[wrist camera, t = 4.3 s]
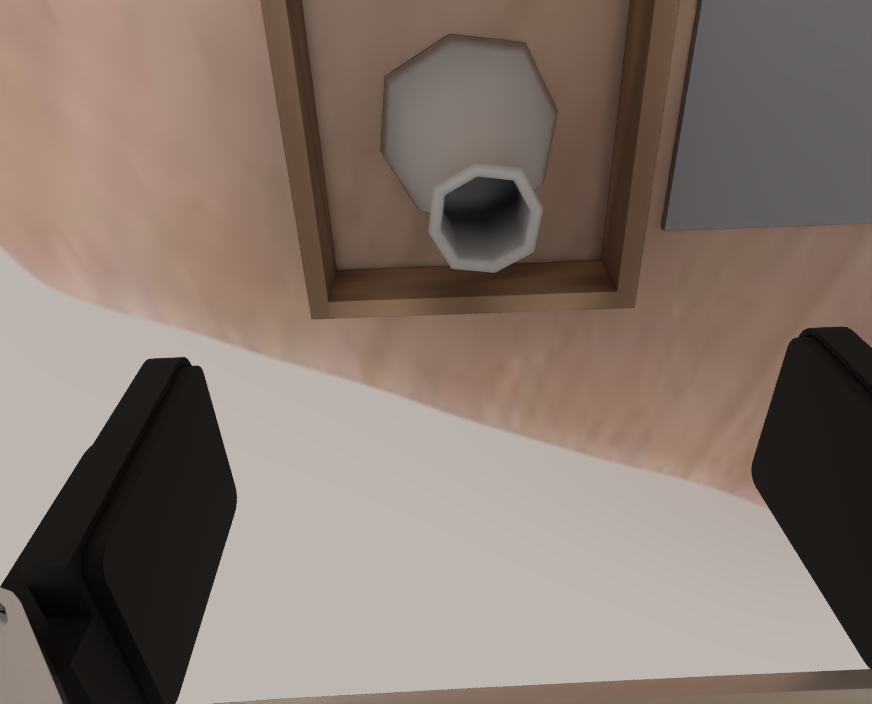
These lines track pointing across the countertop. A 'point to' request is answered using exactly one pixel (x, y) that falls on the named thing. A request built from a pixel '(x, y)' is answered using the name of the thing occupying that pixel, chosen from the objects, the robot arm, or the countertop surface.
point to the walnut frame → (464, 288)
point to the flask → (471, 146)
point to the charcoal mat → (775, 117)
